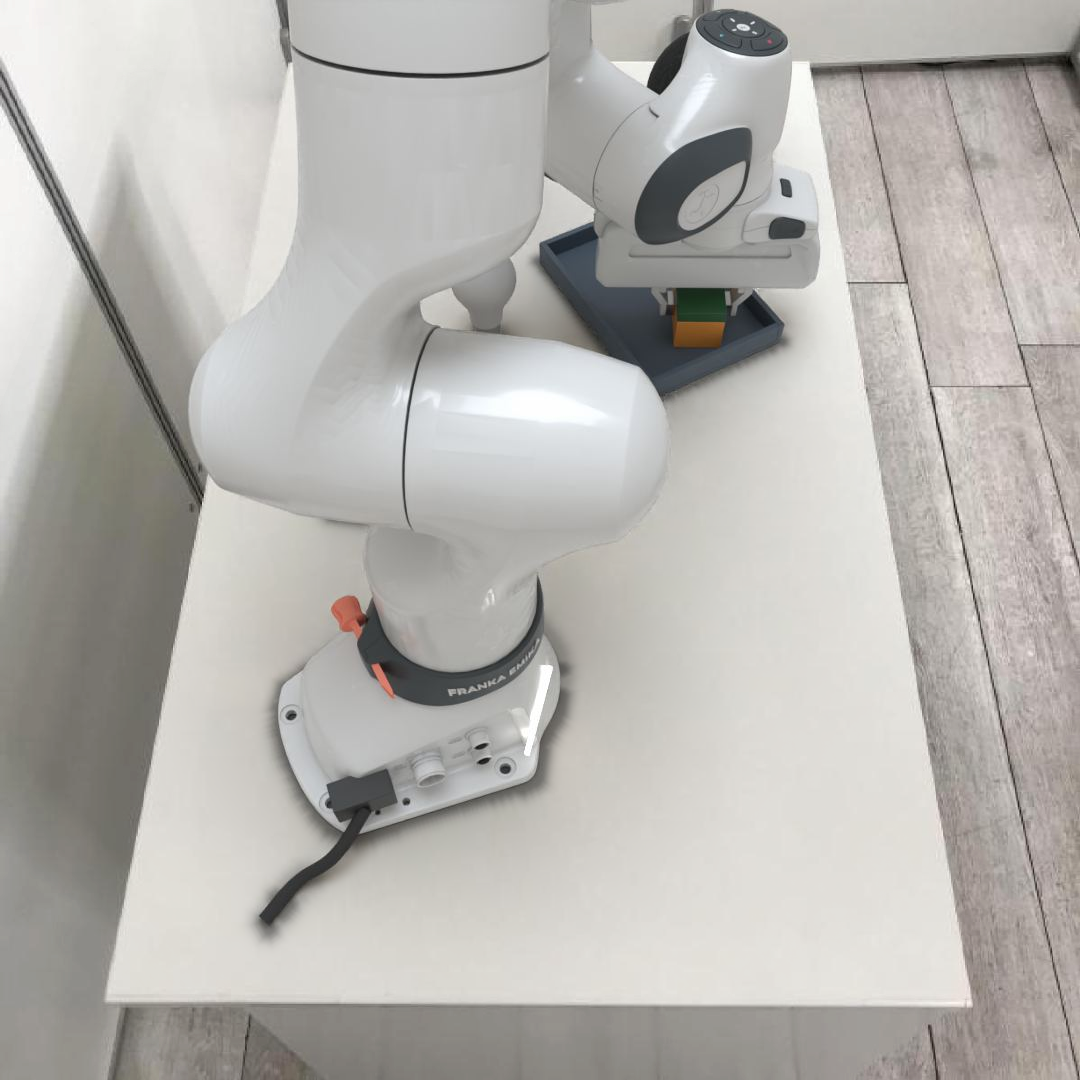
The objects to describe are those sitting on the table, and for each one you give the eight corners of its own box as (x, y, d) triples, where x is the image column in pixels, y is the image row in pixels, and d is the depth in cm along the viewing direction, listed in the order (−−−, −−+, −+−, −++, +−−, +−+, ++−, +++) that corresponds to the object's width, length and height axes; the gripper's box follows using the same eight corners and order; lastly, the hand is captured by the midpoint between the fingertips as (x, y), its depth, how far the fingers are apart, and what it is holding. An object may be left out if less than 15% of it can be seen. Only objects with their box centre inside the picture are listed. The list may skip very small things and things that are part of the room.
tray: (647, 402, 100) (649, 384, 98) (539, 261, 110) (539, 242, 108) (780, 342, 104) (784, 323, 102) (664, 211, 114) (666, 191, 112)
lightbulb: (517, 361, 103) (514, 278, 94) (454, 361, 103) (445, 278, 94) (519, 314, 106) (516, 230, 97) (458, 314, 107) (449, 229, 97)
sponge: (720, 348, 103) (727, 313, 99) (673, 347, 103) (678, 313, 99) (715, 294, 107) (722, 259, 102) (670, 294, 107) (675, 258, 103)
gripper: (594, 223, 90) (590, 334, 102) (837, 224, 90) (805, 336, 102) (594, 172, 93) (590, 286, 105) (829, 173, 93) (798, 287, 105)
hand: (697, 311), depth 103 cm, fingers closed on sponge, 4 cm apart
